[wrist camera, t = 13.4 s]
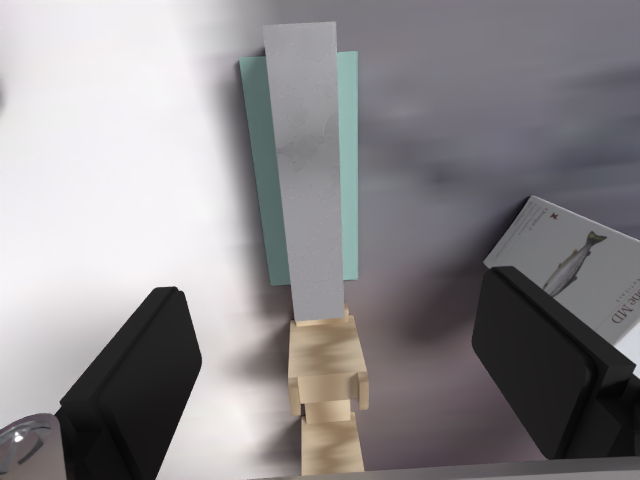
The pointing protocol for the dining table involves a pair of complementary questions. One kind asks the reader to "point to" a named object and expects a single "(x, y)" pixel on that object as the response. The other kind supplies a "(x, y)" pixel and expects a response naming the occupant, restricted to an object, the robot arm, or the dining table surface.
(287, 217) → the block
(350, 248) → the mat
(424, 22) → the dining table surface
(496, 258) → the supplement box
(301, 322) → the rack
